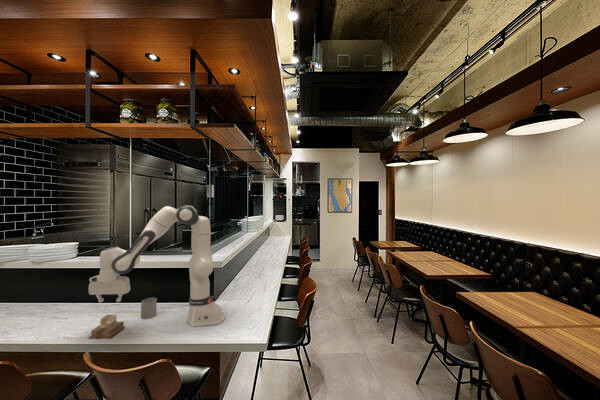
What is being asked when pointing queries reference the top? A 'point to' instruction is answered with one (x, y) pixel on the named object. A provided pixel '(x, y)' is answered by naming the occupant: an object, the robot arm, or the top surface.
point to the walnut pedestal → (107, 331)
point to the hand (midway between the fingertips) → (109, 301)
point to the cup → (148, 308)
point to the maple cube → (108, 321)
